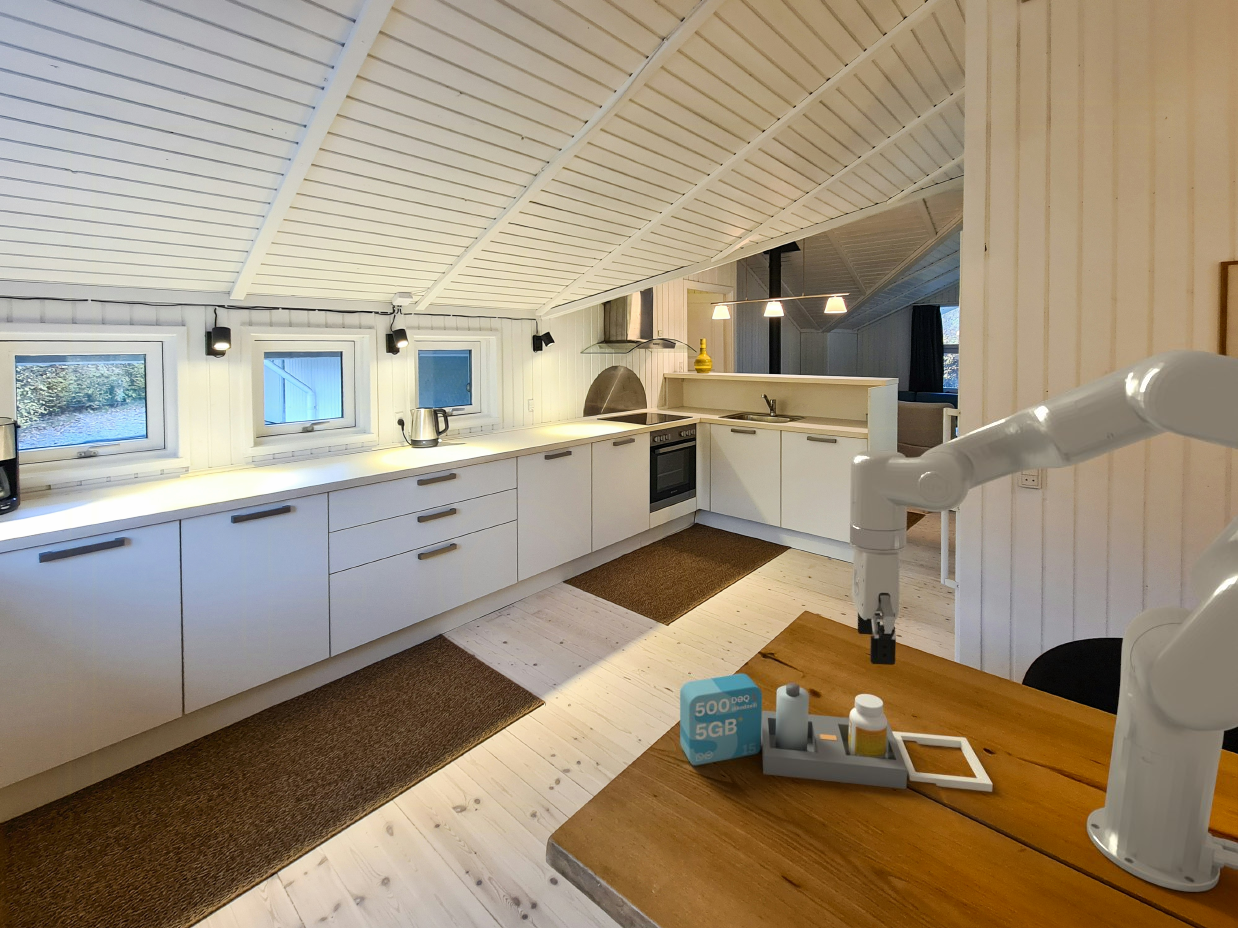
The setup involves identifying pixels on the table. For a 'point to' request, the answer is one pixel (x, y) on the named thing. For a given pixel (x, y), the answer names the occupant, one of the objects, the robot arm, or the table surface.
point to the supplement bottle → (867, 728)
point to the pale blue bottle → (792, 717)
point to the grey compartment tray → (831, 755)
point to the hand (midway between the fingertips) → (875, 647)
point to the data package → (720, 718)
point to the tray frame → (945, 780)
